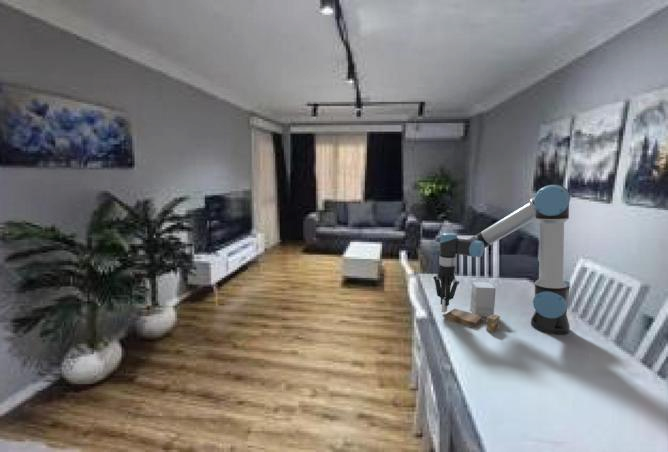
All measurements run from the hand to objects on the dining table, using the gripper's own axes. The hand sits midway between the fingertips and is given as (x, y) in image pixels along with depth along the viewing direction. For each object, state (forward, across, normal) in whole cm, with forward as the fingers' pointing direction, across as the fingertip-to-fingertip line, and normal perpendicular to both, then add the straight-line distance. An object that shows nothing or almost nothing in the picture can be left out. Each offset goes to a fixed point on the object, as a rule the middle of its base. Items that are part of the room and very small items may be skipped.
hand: (444, 311), depth 180 cm
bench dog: (+1, -24, 0) cm, 24 cm away
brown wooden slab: (+2, -10, 0) cm, 11 cm away
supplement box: (+2, -12, -14) cm, 19 cm away
